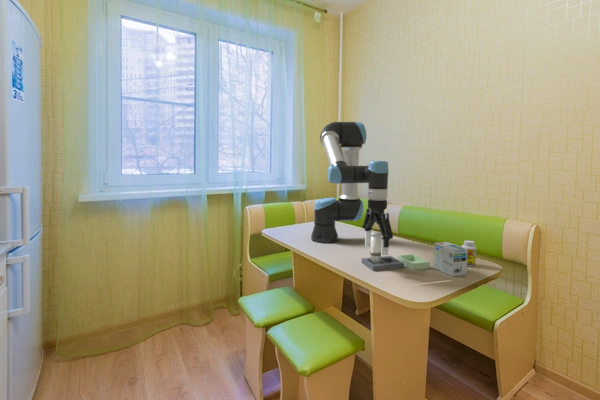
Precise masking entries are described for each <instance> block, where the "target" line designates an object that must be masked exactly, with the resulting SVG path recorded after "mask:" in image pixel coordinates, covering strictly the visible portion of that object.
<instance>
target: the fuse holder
mask: <svg viewBox="0 0 600 400" xmlns="http://www.w3.org/2000/svg"><path fill="white" fill-rule="evenodd" d="M361 263H362V264H363V265H364V266H365V267H367V268H368V269H369V270H370V271H372V272H375V271H386V270H396V269H404V268H405V265H404V263H403V262H401V261H399V260H397V257H396V258H395V257H394V256H392V255H381V264H372V263H370V257H362V258H361Z"/></svg>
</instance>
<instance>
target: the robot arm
mask: <svg viewBox="0 0 600 400" xmlns="http://www.w3.org/2000/svg"><path fill="white" fill-rule="evenodd" d="M319 140H320V144H321V146H322V147H323V148H324V151H325V154H326V157H327V161H328V165H329V166H328V168H327V181H328V182H329V183H330V184H337V185H338V184H341V194H340V195H339V196H338V200H337V199H336V197H325V198H318V199H316V200H315V201H314V207H313V210H314V213H313V214H314V217H313V219H314V223H313V224H314V225H313V229H312V232H311V235H310V240H311V239H312V240H314V241H313V242H315V241H317V242H316V243H320V242H324V243H323V244H328V243H329V242H331V243H336V242H337V240H339V234H338V232H337V229H336V222H355V221H359V220H361V218H362V216H363V212H364V201H363V200H361V196H359V195H358V190H359V189H358V186H359V184H368V186H367V187H368V190H367V194H368V196H367V197H368V200H367V208H366V211H365V213H366V214H365V216H364V220H363V224H362V229H364V247H371V232H373V231H372V228H373V226H374V225H375V223H376V224H377V225H378V228H379V232H381V234H382V239H381V256H389V249H390V247H389V246H390V239H393V238H394V236H393V232H392V231H393V230H392V227H391V222H390V214H389V212H388V213H387V212H386V213H385V210H387V208H388V183H389V181H388V180H389V163H388V161H386V160H370V161H369V162H368V165H359V163H360V162H359V161H360V160H359V159H360V158H359V157H360V150H361V149H362V148H363V145H364V144H366V142H367V129H366V127H365V125H364V123H362V122H359V121H358V122H357V121H332V122H330V123H328V124H326V126H324V127H323V128H322V130H321V132H320V135H319ZM312 240H311V241H312ZM335 241H336V242H335ZM329 244H330V243H329Z"/></svg>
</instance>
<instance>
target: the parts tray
mask: <svg viewBox="0 0 600 400" xmlns="http://www.w3.org/2000/svg"><path fill="white" fill-rule="evenodd" d="M396 259H397V260H399V261H401V262H403V263H404V267H407V268H408V269H411V270H413V271H414V270H415V271H416V270H423V269H424V270H425V269H430V266H431V262H430V261H429V260H427V259H425V258H422V257H420V256H418V255H417V254H414V253H411V254H408V253H407V254H398V255H396Z"/></svg>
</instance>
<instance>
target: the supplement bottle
mask: <svg viewBox="0 0 600 400" xmlns="http://www.w3.org/2000/svg"><path fill="white" fill-rule="evenodd" d="M461 247H464V248H468V253H467V267H474V266H475V265H476V256H477V247H476V246H475V241H474V240H469V239H468V240H467V239H466V240H464V241H463V244H462V245H461Z"/></svg>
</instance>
